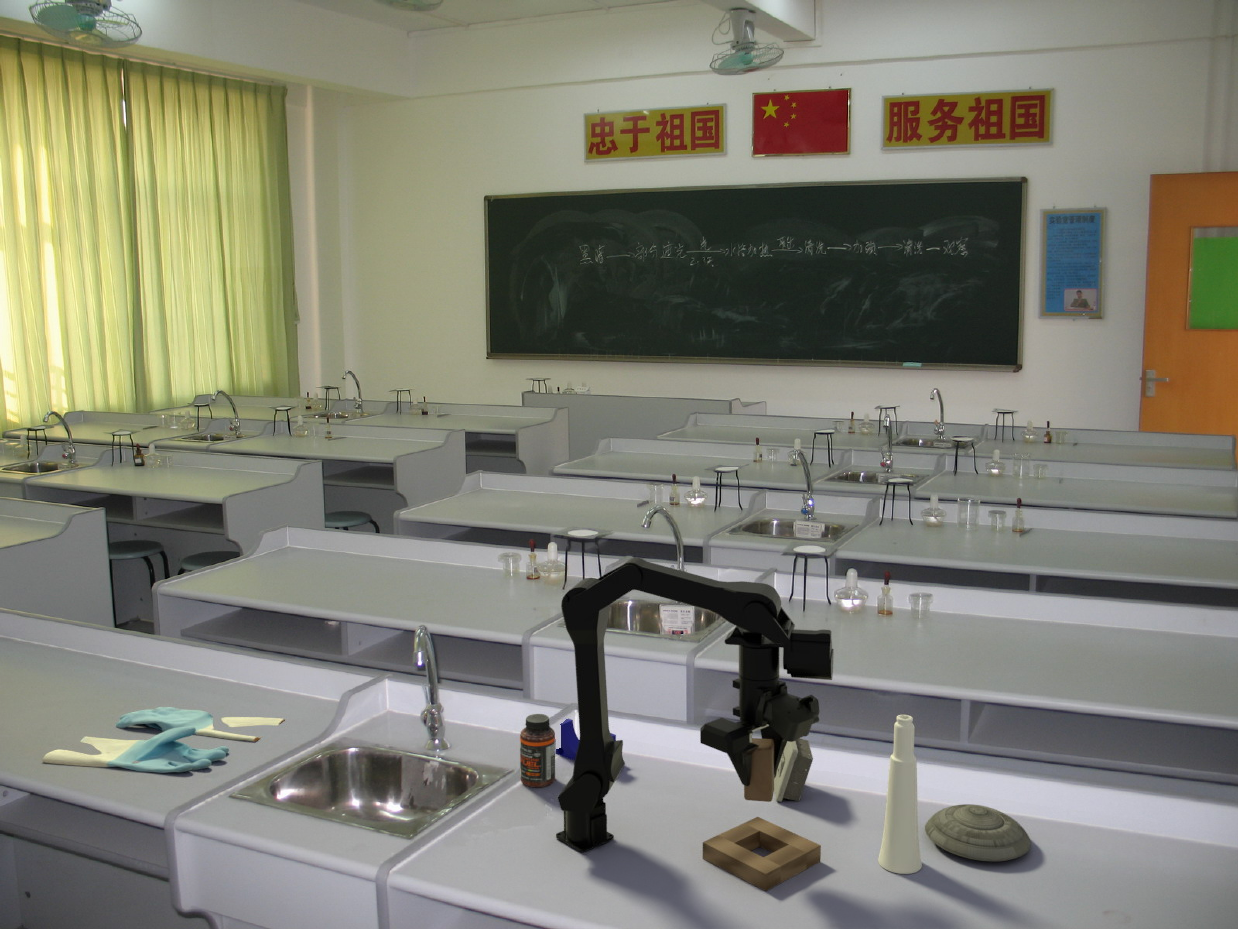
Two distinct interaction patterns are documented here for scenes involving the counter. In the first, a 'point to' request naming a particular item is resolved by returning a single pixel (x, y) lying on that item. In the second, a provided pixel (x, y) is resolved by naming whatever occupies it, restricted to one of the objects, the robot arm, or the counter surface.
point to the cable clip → (570, 740)
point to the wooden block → (761, 772)
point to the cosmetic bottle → (901, 804)
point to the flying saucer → (978, 833)
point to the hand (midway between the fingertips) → (759, 779)
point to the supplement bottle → (537, 752)
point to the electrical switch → (793, 770)
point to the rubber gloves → (160, 742)
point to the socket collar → (760, 871)
